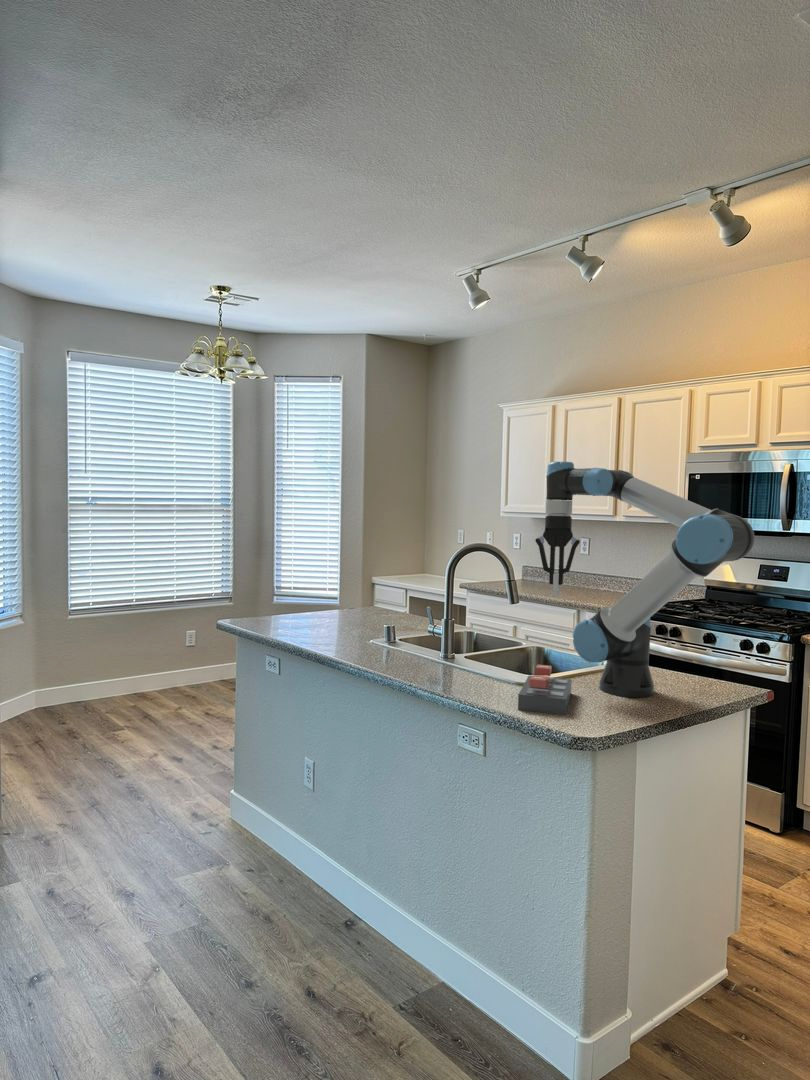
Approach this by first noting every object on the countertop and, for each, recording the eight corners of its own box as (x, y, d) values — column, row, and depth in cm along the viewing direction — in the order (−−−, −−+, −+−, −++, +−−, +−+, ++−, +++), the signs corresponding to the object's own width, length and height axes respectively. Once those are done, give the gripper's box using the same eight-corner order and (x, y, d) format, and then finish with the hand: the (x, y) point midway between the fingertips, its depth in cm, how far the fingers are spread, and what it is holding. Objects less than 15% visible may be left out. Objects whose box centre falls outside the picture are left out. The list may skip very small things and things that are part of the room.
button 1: (551, 672, 209) (551, 665, 209) (550, 676, 206) (550, 668, 205) (537, 671, 210) (537, 664, 210) (535, 674, 207) (535, 667, 207)
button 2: (548, 683, 203) (549, 676, 203) (547, 687, 199) (547, 679, 199) (534, 682, 204) (534, 675, 204) (532, 686, 200) (532, 678, 200)
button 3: (546, 684, 196) (546, 676, 196) (545, 688, 192) (545, 680, 192) (531, 683, 197) (531, 675, 197) (529, 686, 193) (529, 678, 193)
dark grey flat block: (571, 690, 213) (572, 676, 213) (565, 714, 189) (565, 698, 189) (529, 686, 216) (530, 672, 216) (517, 709, 192) (518, 693, 192)
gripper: (582, 515, 218) (579, 595, 220) (537, 514, 222) (534, 593, 223) (581, 516, 211) (577, 598, 212) (534, 514, 214) (531, 596, 216)
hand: (555, 595), depth 218 cm, fingers closed
